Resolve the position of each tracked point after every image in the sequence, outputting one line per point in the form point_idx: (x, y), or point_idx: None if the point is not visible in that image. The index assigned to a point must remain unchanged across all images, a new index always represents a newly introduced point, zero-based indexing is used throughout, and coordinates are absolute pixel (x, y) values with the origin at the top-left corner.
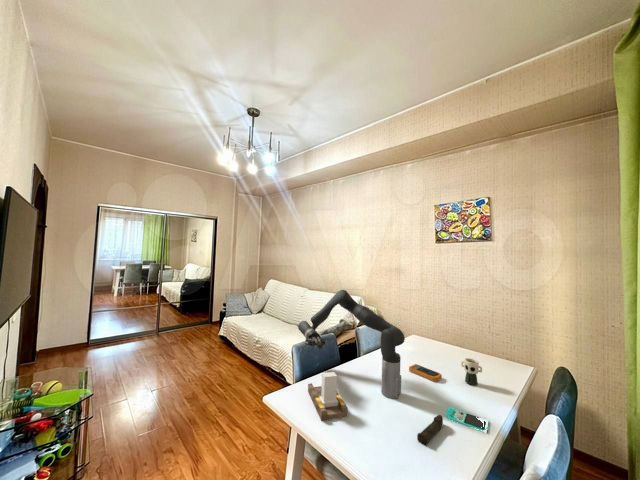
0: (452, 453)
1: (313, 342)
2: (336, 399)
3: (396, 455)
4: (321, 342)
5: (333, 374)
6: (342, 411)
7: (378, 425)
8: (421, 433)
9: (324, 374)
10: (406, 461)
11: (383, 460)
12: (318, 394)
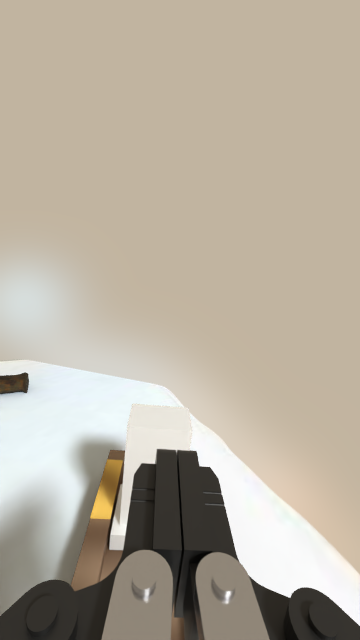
0: (6, 373)
1: (308, 595)
2: (120, 497)
3: (91, 388)
4: (102, 590)
5: (142, 413)
6: (123, 468)
7: (54, 433)
8: (22, 377)
9: (184, 420)
10: (87, 381)
11: (118, 388)
12: (174, 619)
